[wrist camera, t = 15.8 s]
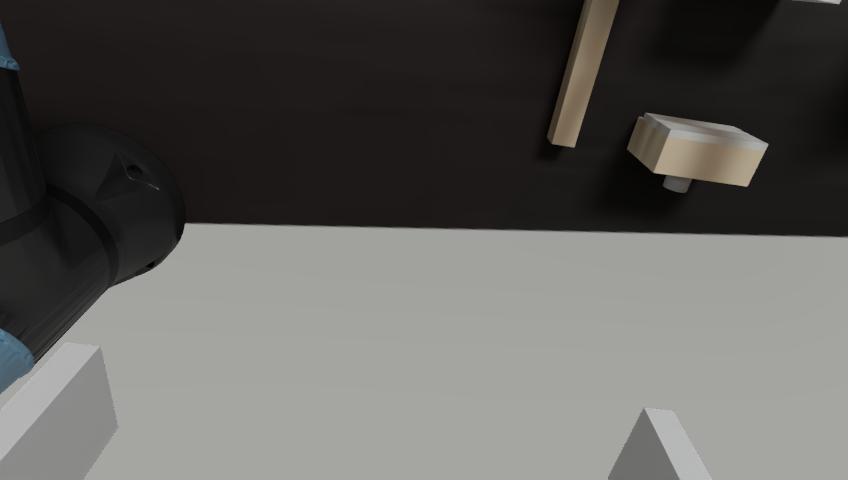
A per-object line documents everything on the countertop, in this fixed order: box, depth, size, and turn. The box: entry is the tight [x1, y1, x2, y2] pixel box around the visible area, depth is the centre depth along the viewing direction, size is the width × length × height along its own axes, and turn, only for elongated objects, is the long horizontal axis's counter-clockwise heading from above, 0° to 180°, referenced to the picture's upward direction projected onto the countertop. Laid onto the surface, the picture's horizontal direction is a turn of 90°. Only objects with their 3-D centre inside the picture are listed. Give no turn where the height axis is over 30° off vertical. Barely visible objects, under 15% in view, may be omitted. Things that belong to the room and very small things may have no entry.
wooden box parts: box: [547, 0, 841, 193], centre depth 39 cm, size 16×19×6 cm
